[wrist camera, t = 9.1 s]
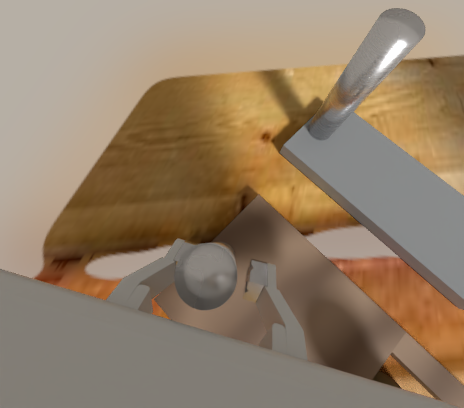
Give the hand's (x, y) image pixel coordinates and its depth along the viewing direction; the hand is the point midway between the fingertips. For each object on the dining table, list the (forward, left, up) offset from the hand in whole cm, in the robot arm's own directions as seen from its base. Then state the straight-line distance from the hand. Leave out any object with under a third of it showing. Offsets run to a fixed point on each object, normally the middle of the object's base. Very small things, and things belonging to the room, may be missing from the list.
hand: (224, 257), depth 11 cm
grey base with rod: (-8, -15, -6) cm, 18 cm away
